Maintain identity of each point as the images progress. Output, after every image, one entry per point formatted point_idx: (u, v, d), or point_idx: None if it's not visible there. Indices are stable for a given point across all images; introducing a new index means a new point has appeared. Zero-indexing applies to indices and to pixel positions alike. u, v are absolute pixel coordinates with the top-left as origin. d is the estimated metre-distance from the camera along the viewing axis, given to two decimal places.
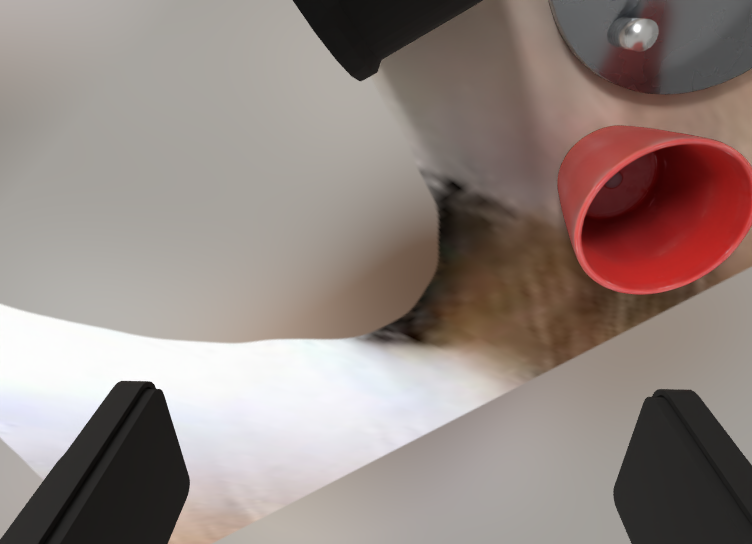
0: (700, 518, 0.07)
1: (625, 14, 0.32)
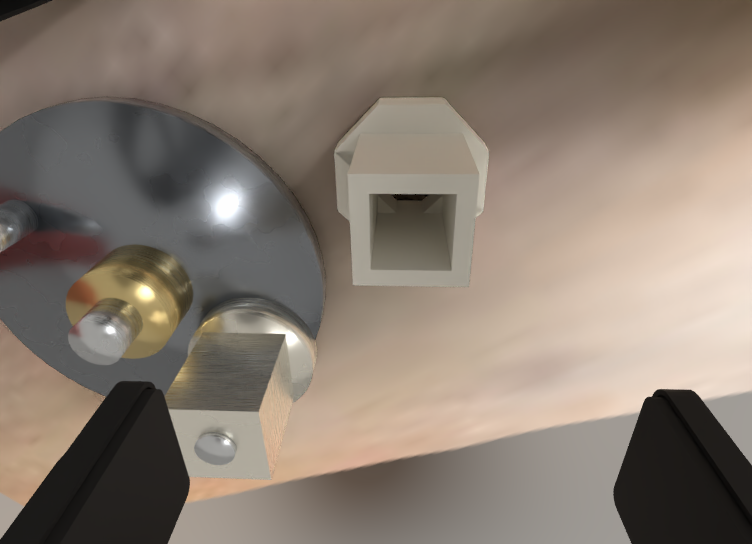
0: (700, 518, 0.07)
1: (40, 217, 0.24)
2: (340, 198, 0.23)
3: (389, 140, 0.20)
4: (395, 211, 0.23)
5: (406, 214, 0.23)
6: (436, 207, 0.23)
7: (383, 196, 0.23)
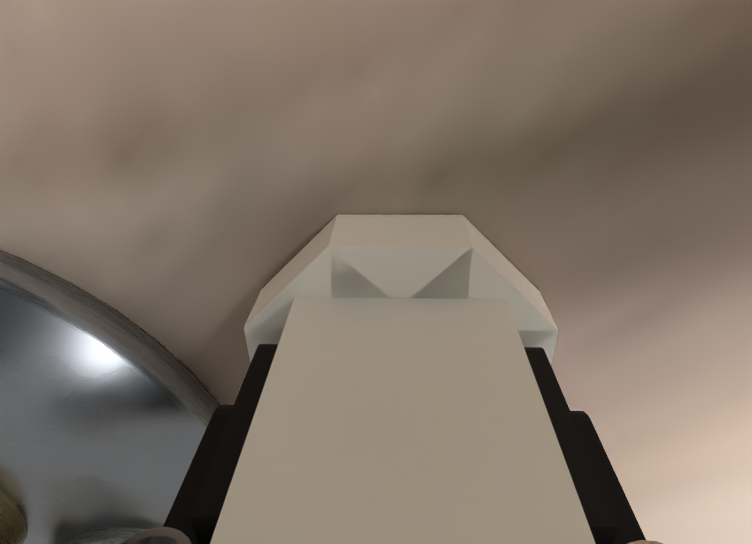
0: None
1: None
2: None
3: (350, 332, 0.09)
4: None
5: None
6: None
7: None
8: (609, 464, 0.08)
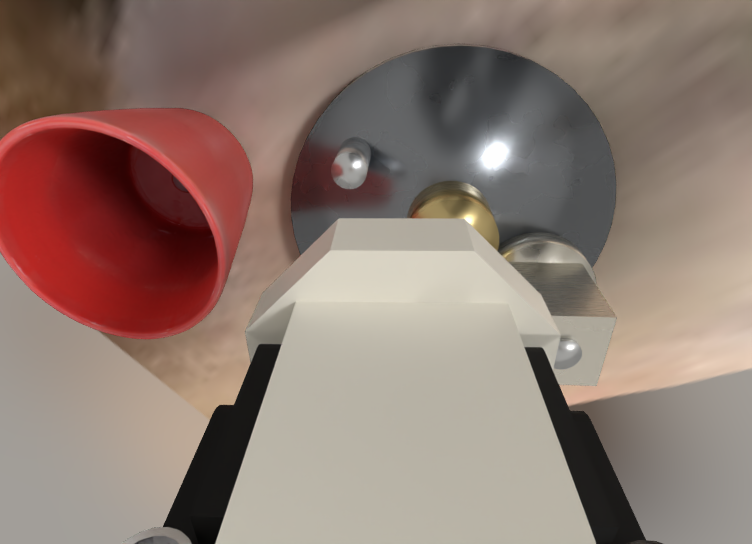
0: None
1: (374, 154, 0.27)
2: None
3: (352, 336, 0.09)
4: None
5: None
6: None
7: None
8: (609, 464, 0.08)
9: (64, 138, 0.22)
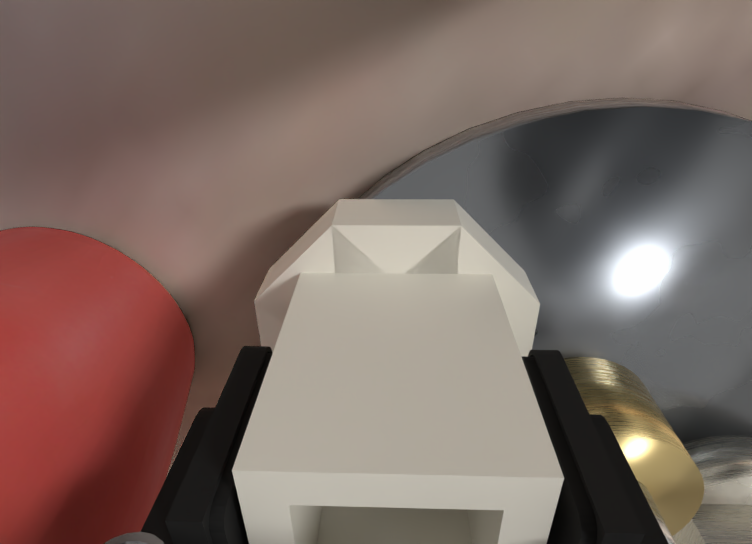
0: None
1: None
2: None
3: (352, 301, 0.10)
4: None
5: None
6: None
7: None
8: (629, 468, 0.08)
9: None
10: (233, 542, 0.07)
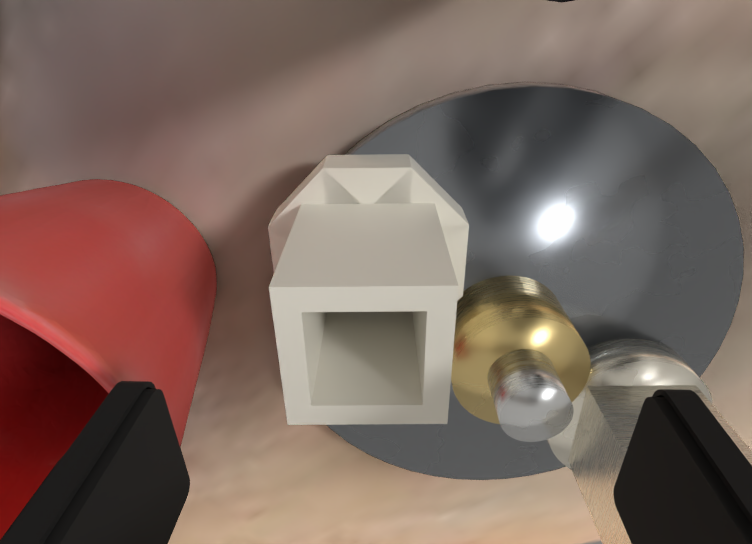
0: (700, 518, 0.07)
1: None
2: None
3: (337, 217, 0.15)
4: None
5: None
6: None
7: None
8: None
9: None
10: None
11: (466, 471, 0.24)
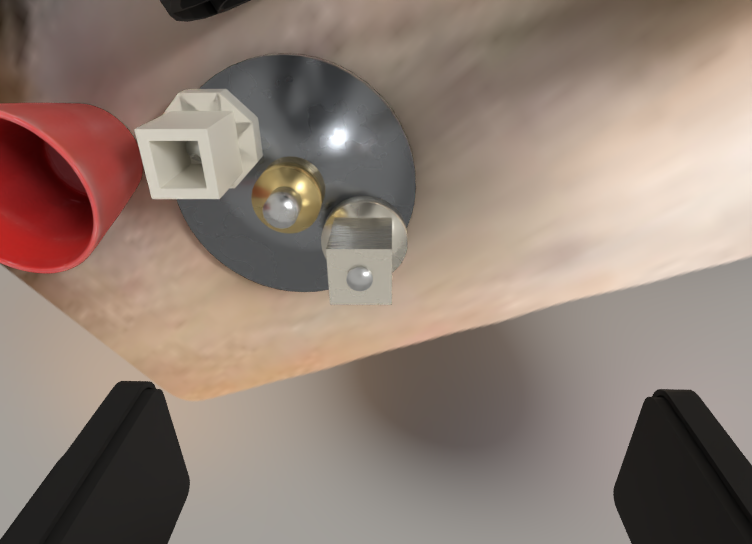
0: (700, 518, 0.07)
1: None
2: None
3: (182, 114, 0.32)
4: None
5: None
6: None
7: None
8: None
9: None
10: None
11: (294, 285, 0.42)
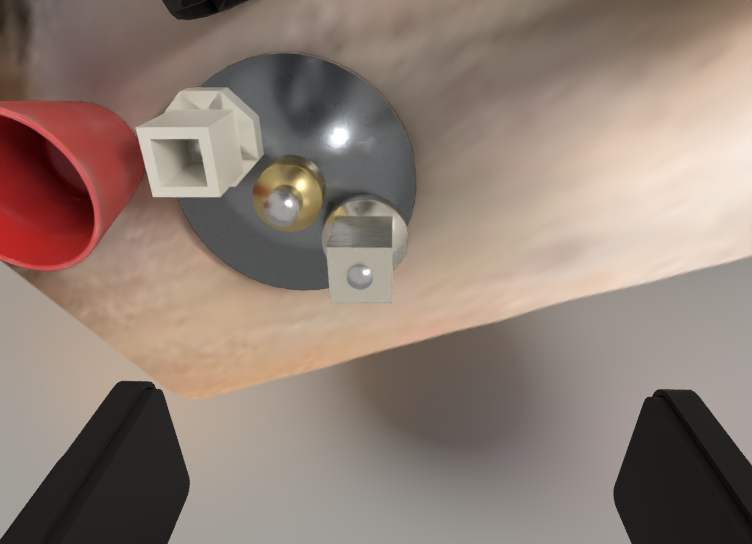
0: (700, 518, 0.07)
1: None
2: None
3: (183, 112, 0.33)
4: None
5: None
6: None
7: None
8: None
9: None
10: None
11: (294, 283, 0.42)
